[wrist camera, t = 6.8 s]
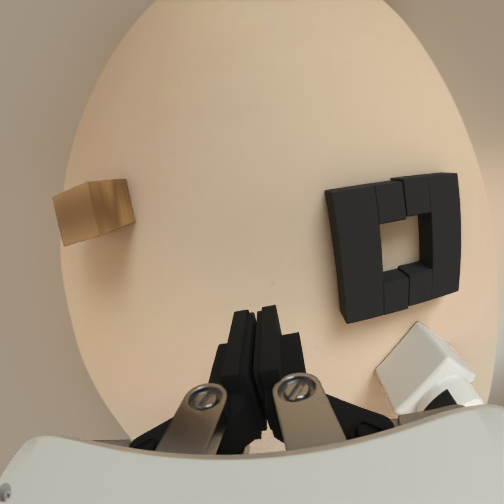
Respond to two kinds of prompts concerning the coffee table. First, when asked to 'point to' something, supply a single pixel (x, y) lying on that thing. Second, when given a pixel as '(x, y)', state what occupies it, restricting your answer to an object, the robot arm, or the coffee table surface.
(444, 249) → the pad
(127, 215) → the key
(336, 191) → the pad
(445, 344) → the medicine bottle
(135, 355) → the coffee table surface
